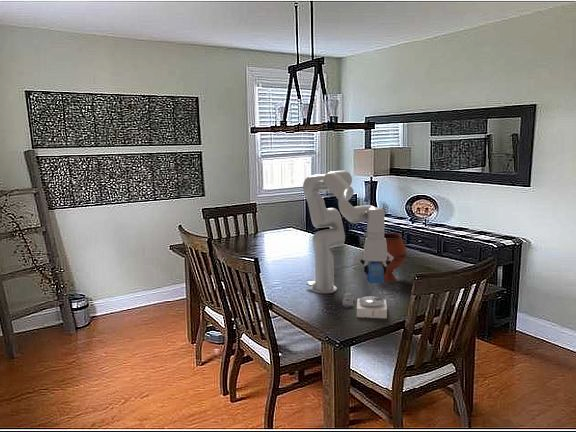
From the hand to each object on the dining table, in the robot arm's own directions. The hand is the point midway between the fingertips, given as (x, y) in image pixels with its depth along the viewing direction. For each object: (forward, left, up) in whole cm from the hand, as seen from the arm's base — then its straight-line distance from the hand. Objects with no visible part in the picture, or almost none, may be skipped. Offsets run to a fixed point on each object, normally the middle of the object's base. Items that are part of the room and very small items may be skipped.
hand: (375, 273), depth 211 cm
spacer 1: (-12, +12, -18) cm, 25 cm away
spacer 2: (-12, +5, -18) cm, 22 cm away
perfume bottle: (0, 0, -4) cm, 4 cm away
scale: (-1, -2, -18) cm, 18 cm away
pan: (-1, -2, -13) cm, 13 cm away
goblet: (+8, +48, -18) cm, 52 cm away
